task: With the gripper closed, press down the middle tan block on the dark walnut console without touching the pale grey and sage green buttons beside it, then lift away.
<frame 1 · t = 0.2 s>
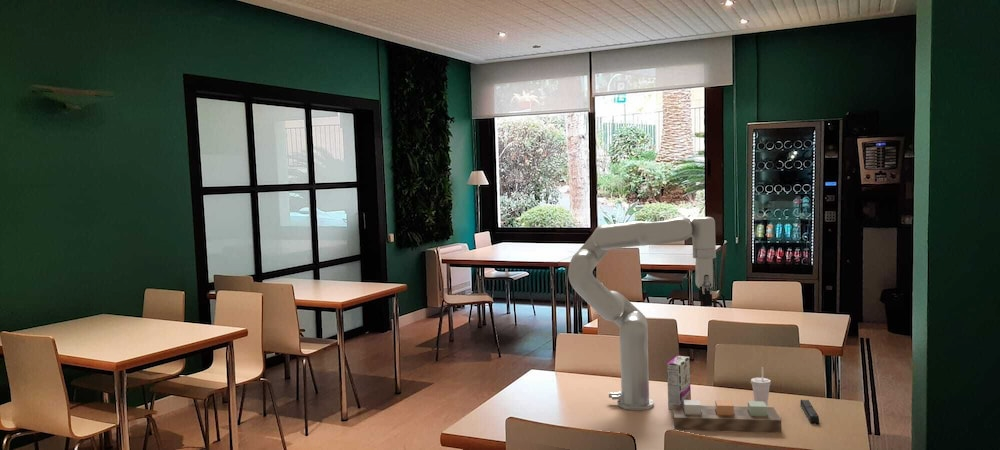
hand: (705, 303, 238), 36 cm above the table, tool pointing down, fingers open, 9 cm apart
sage button: (757, 410, 222), point 5 cm above the table, slide at 0.0 cm
grey button: (692, 408, 226), point 5 cm above the table, slide at 0.0 cm
candy bar box: (679, 406, 243), on the table
smoothie: (761, 408, 238), on the table
tan block: (724, 409, 224), point 5 cm above the table, slide at 0.0 cm
console: (724, 424, 224), on the table
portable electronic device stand: (809, 416, 230), on the table
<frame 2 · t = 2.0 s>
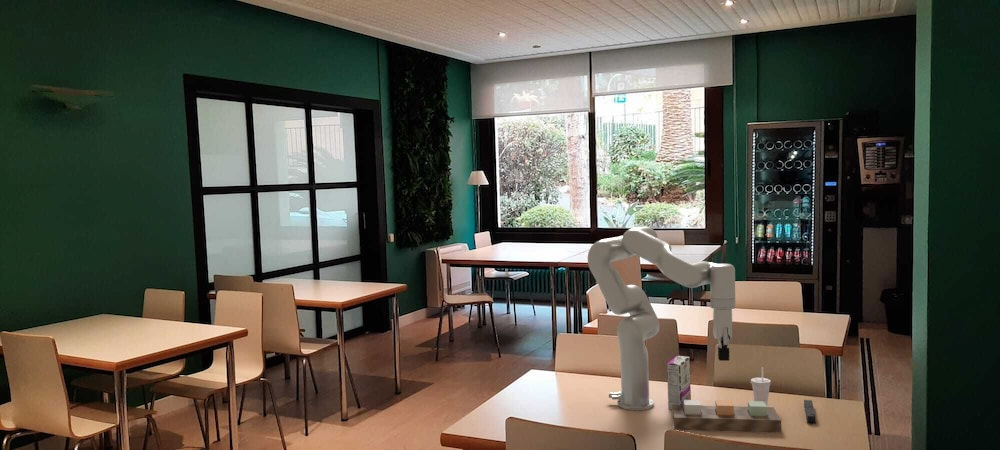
hand: (723, 359, 223), 21 cm above the table, tool pointing down, fingers closed
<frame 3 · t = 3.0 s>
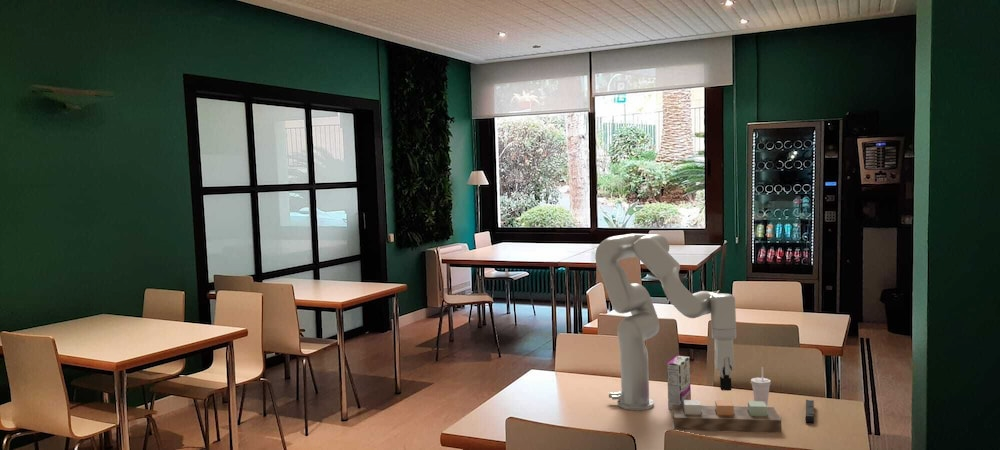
hand: (725, 389, 223), 12 cm above the table, tool pointing down, fingers closed
nothing on the table moved.
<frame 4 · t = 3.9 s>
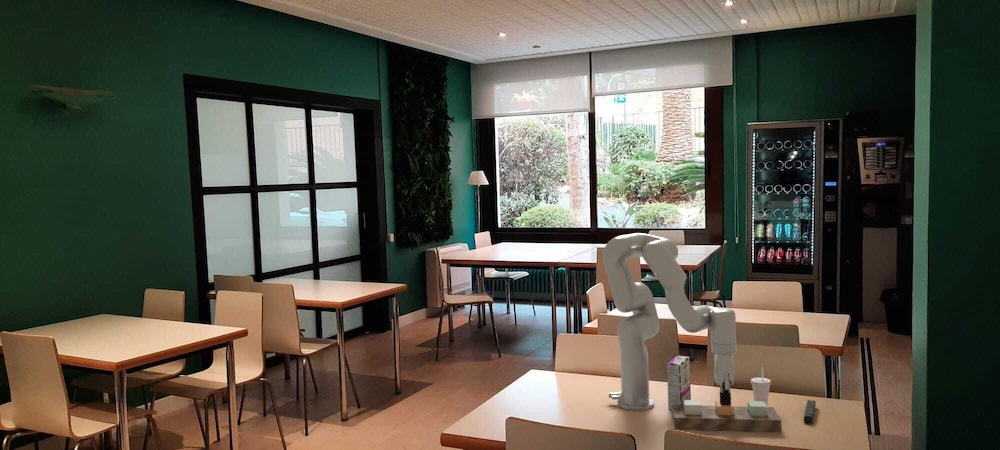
hand: (725, 404, 223), 7 cm above the table, tool pointing down, fingers closed
tan block: (724, 410, 224), point 5 cm above the table, slide at 0.3 cm, touching gripper
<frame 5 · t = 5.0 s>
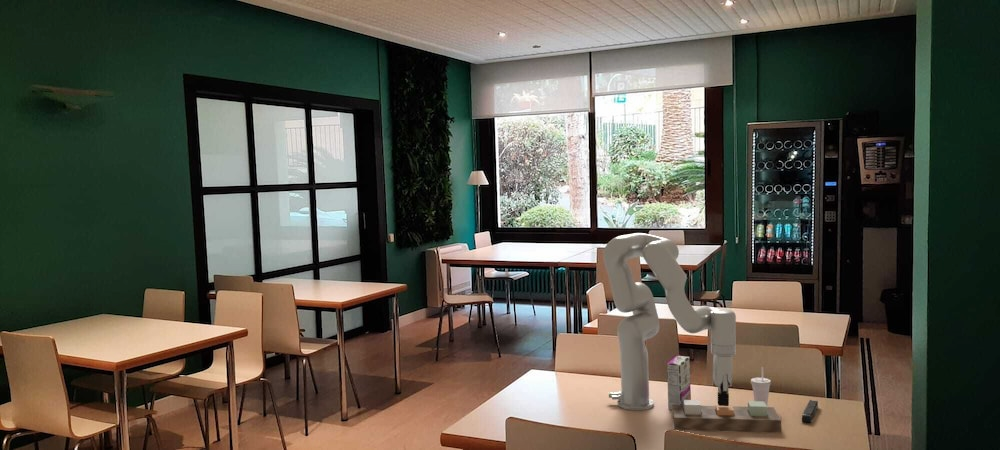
hand: (723, 404, 224), 6 cm above the table, tool pointing down, fingers closed
tan block: (724, 413, 224), point 3 cm above the table, slide at 1.4 cm
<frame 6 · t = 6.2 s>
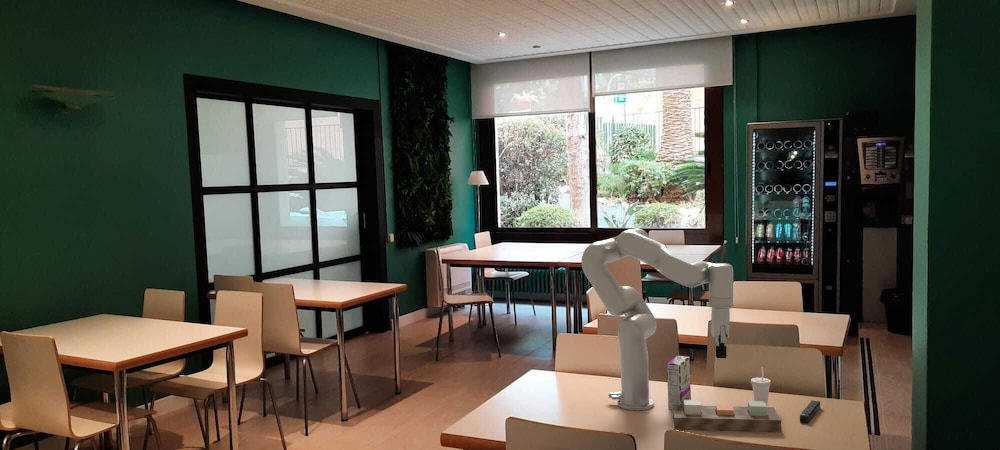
hand: (721, 357, 227), 21 cm above the table, tool pointing down, fingers closed
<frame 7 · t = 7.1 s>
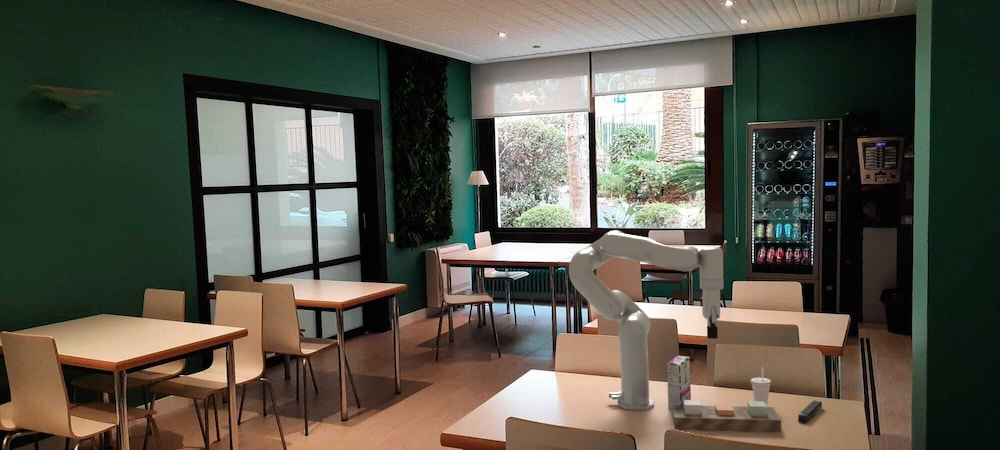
hand: (712, 337, 235), 25 cm above the table, tool pointing down, fingers closed
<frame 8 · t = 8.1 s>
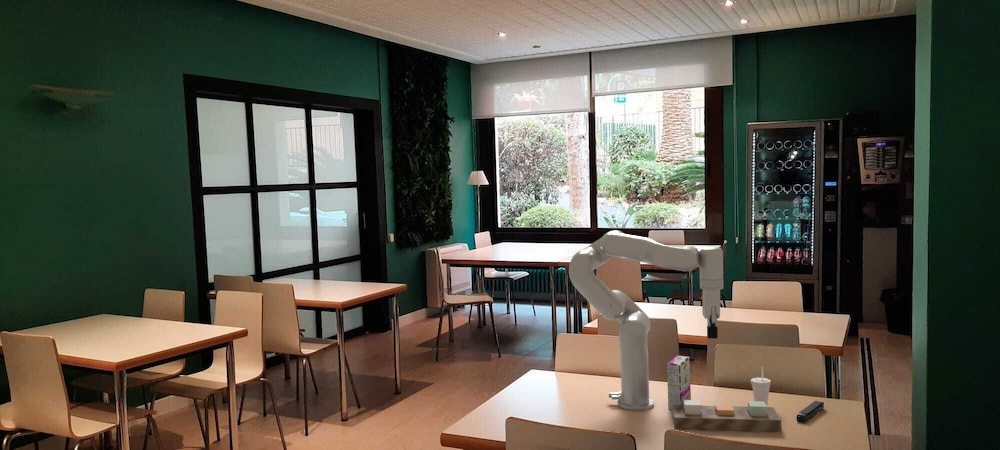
hand: (712, 337, 235), 25 cm above the table, tool pointing down, fingers closed
at the end: tan block slide at 1.4 cm; grey button slide at 0.0 cm; sage button slide at 0.0 cm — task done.
